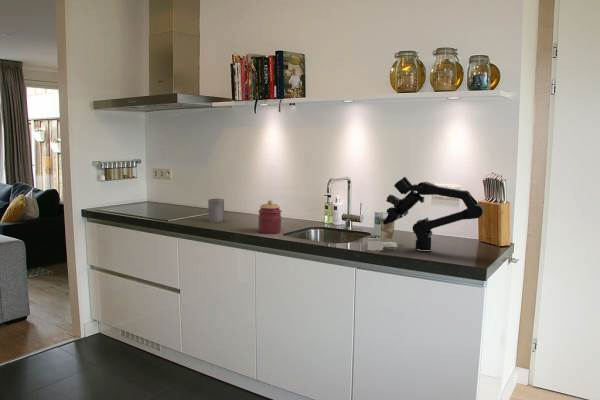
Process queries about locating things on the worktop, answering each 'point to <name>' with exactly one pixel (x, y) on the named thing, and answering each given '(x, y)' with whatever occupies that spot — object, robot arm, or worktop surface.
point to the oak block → (387, 230)
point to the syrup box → (379, 222)
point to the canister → (269, 218)
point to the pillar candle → (216, 210)
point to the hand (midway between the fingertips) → (385, 223)
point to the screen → (375, 244)
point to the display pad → (389, 244)
